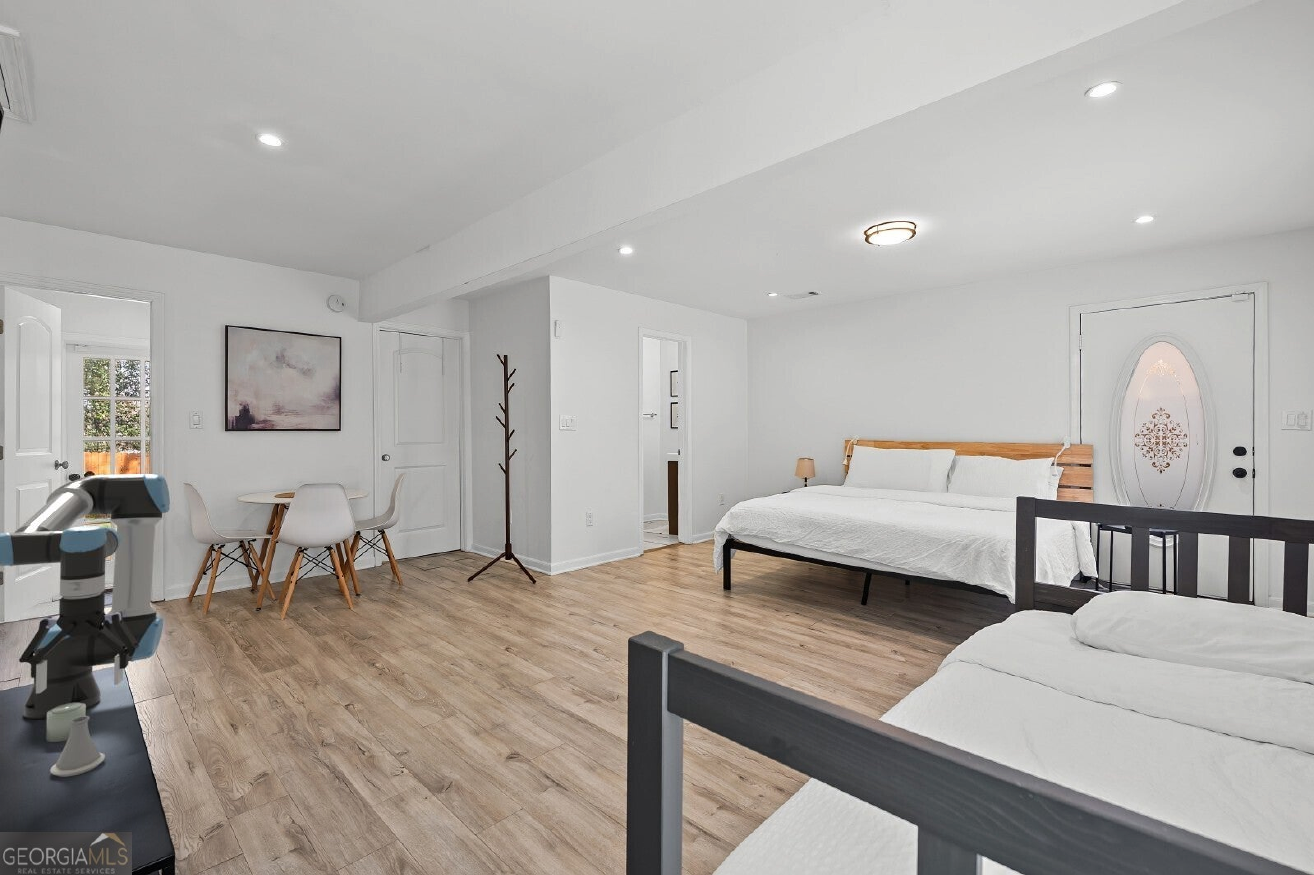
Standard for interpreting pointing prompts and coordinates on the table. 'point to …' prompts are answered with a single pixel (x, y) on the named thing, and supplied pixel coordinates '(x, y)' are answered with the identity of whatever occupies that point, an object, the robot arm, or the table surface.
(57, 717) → the white cylindrical tub
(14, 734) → the table surface
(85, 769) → the dish
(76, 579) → the robot arm
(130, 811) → the table surface
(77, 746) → the flask
